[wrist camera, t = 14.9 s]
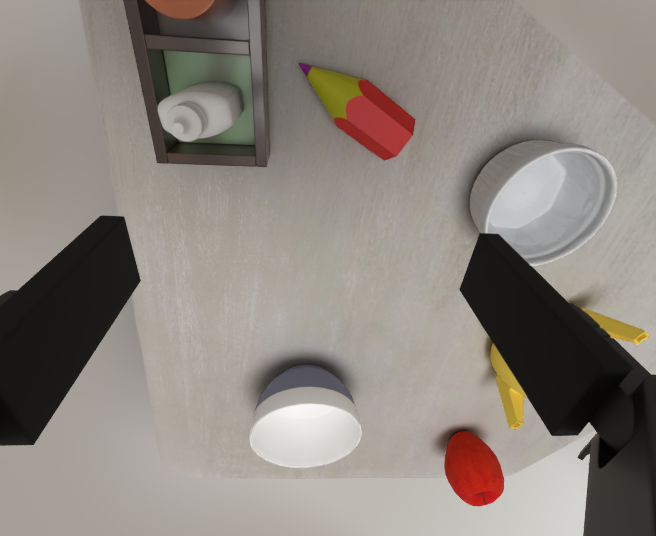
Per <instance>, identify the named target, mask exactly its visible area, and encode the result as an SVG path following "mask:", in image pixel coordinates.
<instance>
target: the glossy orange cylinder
mask: <svg viewBox="0 0 656 536" xmlns="http://www.w3.org/2000/svg"><path fill="white" fill-rule="evenodd" d="M145 1H146V2H147V3H148V4H149V5H150V6H152V7H153V8H154V9H156V10H157V11H159V12H160V13H162V14H164V15H166V16H168V17H172V18H175V19H181V20H187V21H192V22H198V23H204V24H213V23H217V22H220V21H222V20H224V19H225V18H226V17H227V16H228V15H229V14H230V13H231V12H232V10H233V9H234V7H235V5H236V2H237V0H145Z"/></svg>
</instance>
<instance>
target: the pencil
mask: <svg viewBox="0 0 656 536" xmlns="http://www.w3.org/2000/svg"><path fill="white" fill-rule="evenodd" d="M298 64H299V65H300V67H301V68H302V70H303V72H304V73H305V75H306V77H307V78H308V80H309V81H310V83H311V85H312V86H313V88H314V90H315V91H316V93H317V94H318V96H319V98H320V99H321V101H322V103H323V104H324V106H325V107H326V109H327V111H328V112H329V114H330V116H331V117H332V119H333V120H334V122H335V124H336V125H337V127H339V128H340V129H341V130H343V131H344V132H346V133H347V134H348V135H350V136H351V137H352V138H354V139H355V140H357V141H358V142H359V143H361V144H362V145H363V146H365V147H366V148H368V149H369V150H370V151H372V152H373V153H374V154H376V155H377V156H379V157H380V158H381V159H383V160H387V159H390V158H393V157H396V156H397V155H398V154H399V152H400V151H401V150H402V148H403V147H404V146H405V145H406V143H407V142H408V141H409V139H410V138H411V137H412V135H413V131H414V125H415V119H414V118H413V117H412V116H410V115H409V114H408V113H407V112H406V111H404V110H403V109H402V108H401V107H399V106H398V105H397V104H396V103H395V102H393V101H392V100H391V99H390V98H388V97H387V96H386V95H385V94H384V93H382V92H381V91H380V90H379V89H377V88H376V87H375V86H374V85H373V84H371V83H370V82H369V81H368V80H364V79H360V78H356V77H352V76H349V75H345V74H341V73H337V72H333V71H329V70H325V69H321V68H317V67H314V66H310V65H306V64H302V63H298Z"/></svg>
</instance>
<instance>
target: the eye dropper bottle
mask: <svg viewBox="0 0 656 536" xmlns="http://www.w3.org/2000/svg"><path fill="white" fill-rule="evenodd" d="M243 111H244V103H243V98H242V93H241V90H240V89H239V88H238V87H237V86H234V85H232V84H228V83H224V82H217V81H209V82H202V83H198V84H195V85H193V86H190V87H188V88H186V89H183V90H181V91H179V92H177V93H175V94H173V95H170V96H169V97H167V98H165V99H163V100H162V101H161V102H160V103H159V105H158V114H159V117H160V121H161V124H162V126H163V128H164V129H165V130H166V131H167V132H169V133H171V134H172V135H173V136H175V137H176V138H177V139H180V140H182V141H187V142H188V141H189V142H190V141H194V140H195V139H199V138H207V137H211V136H215V135H217V134H220V133H222V132H224V131H225V130H227V129H229V128H230V127H231V126H232V125H233V124H234V123H235V122H236V120H237V119H238V118H239V116H240V115H241V114H242V112H243Z"/></svg>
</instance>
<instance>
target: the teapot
mask: <svg viewBox="0 0 656 536" xmlns="http://www.w3.org/2000/svg"><path fill="white" fill-rule="evenodd" d="M581 310H583V311H584V312H586V313H587V314H589V315H590V316H591V317H592V318H593V319H594V320H595V321H596V322H597V323H598V324H599V325H600V328H603V329H604V330H605V331H606V332H607V333H608V334H609V335H610V337H611V338H615V339H620V340H624V341H629V342H633V343H636V344H639V343H640V342H642V341H643V340H645V339H646V338H648V337H649V336H650V335H649V334H647V333H646V332H645V331H644V330H642V329H639V328H636V327H634V326H631V325H628V324H626V323H623V322H620V321H617V320H615V319H612V318H609V317H606V316H604V315H601V314H598V313H595V312H593V311H590V310H587V309H584V308H583V309H581ZM490 358H491V364H492V366H493V368H494V370H495V371H496V373H497V374H498V375H497V376H496V381H497V385H498V388H499V392H500V396H501V400H502V403H503V407H504V411H505V414H506V418H507V422H508V426H509V428H512V429H515V430H516V429H517V428H519V427H520V426H522V425H523V424H524V422H523V396H525V397H526V398H528V397H527V396H526V394H525V393H524V391H523V389H522V388H521V386H520V385H519V383H518V381H517V380H516V378H515V377H514V375H513V374H512V372H511V370H510V369H509V367H508V366H507V364H506V362H505V361H504V359H503V358H502V356H501V355H500V353H499V351H498V350H497V348H496V347H495V345H494V344H493V345H492V348H491V353H490Z"/></svg>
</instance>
